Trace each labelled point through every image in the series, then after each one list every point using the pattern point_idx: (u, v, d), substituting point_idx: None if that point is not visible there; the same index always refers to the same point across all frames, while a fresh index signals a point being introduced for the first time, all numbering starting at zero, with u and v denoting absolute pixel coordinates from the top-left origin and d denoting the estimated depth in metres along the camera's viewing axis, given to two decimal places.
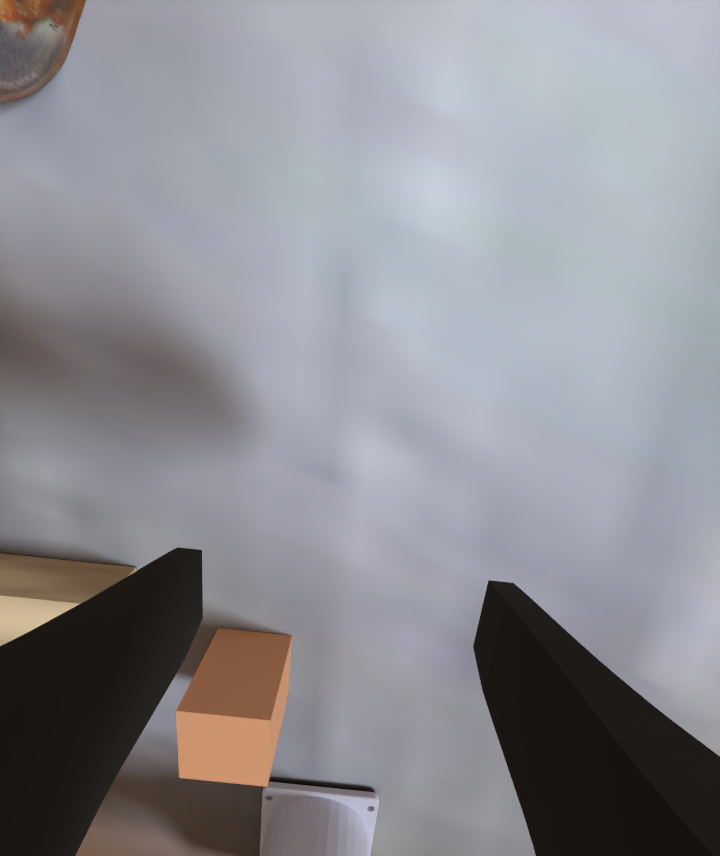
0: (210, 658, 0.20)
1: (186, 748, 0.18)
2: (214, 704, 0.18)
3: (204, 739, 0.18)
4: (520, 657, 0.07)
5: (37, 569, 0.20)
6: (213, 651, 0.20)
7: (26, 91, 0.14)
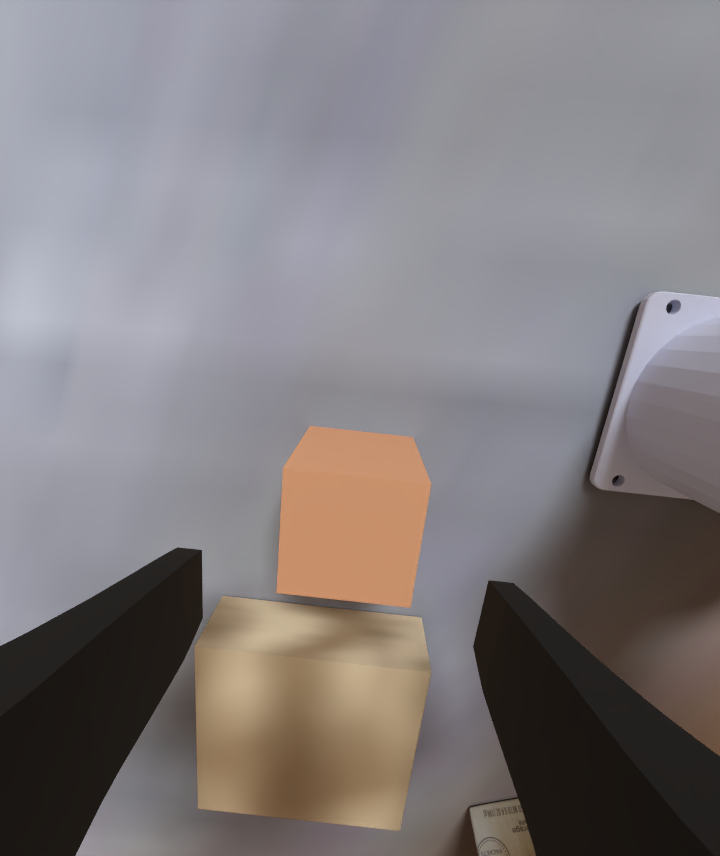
0: None
1: (349, 590, 0.12)
2: None
3: (328, 563, 0.12)
4: (521, 658, 0.07)
5: None
6: None
7: None
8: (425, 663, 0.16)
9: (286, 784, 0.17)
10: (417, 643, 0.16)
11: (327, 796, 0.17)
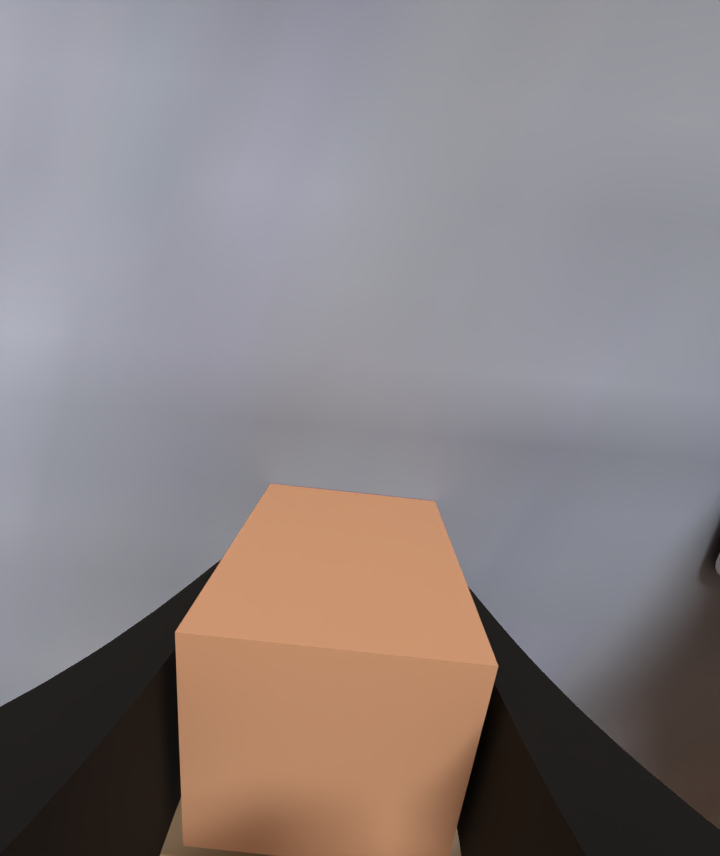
0: None
1: (324, 844, 0.06)
2: None
3: (281, 801, 0.06)
4: None
5: None
6: None
7: None
8: None
9: None
10: None
11: None
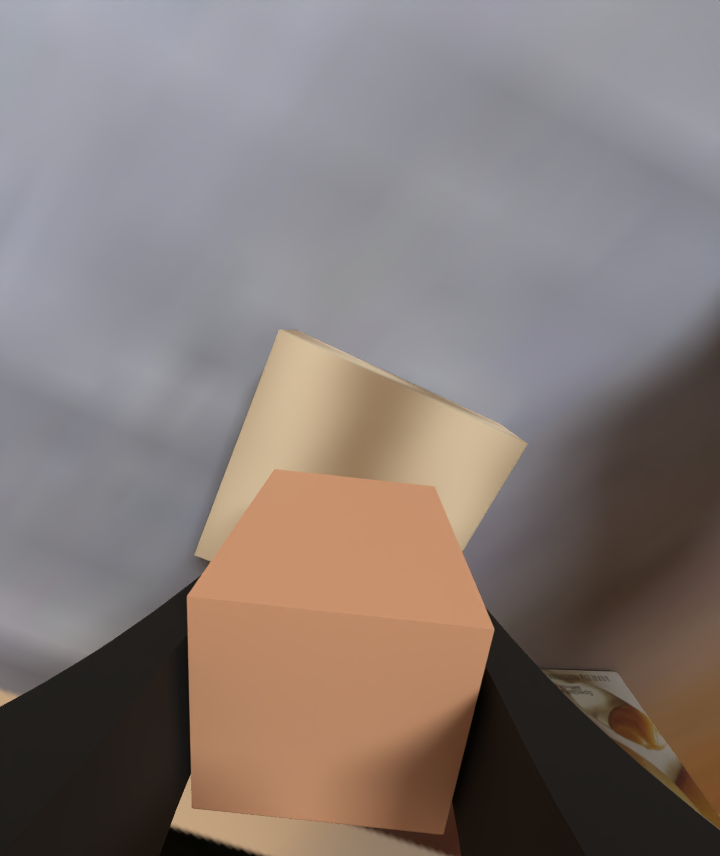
0: None
1: (327, 807, 0.06)
2: None
3: (286, 763, 0.06)
4: None
5: None
6: None
7: None
8: (519, 439, 0.14)
9: None
10: (504, 429, 0.15)
11: None
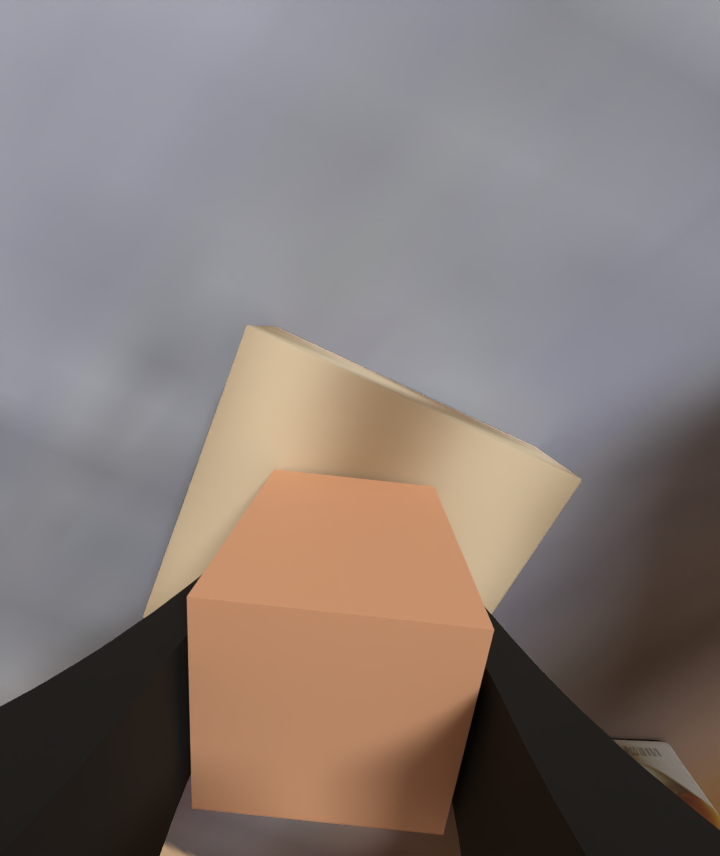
0: None
1: (328, 807, 0.06)
2: None
3: (286, 763, 0.06)
4: None
5: None
6: None
7: None
8: (568, 472, 0.10)
9: None
10: (545, 456, 0.11)
11: None
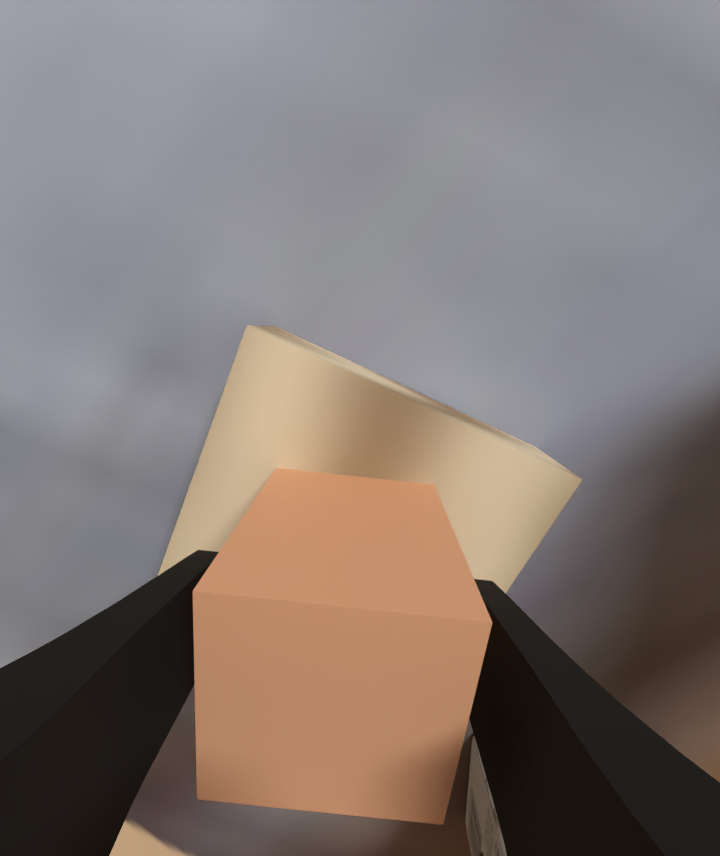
0: None
1: (330, 797, 0.06)
2: None
3: (289, 755, 0.06)
4: (495, 655, 0.07)
5: None
6: None
7: None
8: (568, 472, 0.10)
9: None
10: (545, 456, 0.11)
11: None
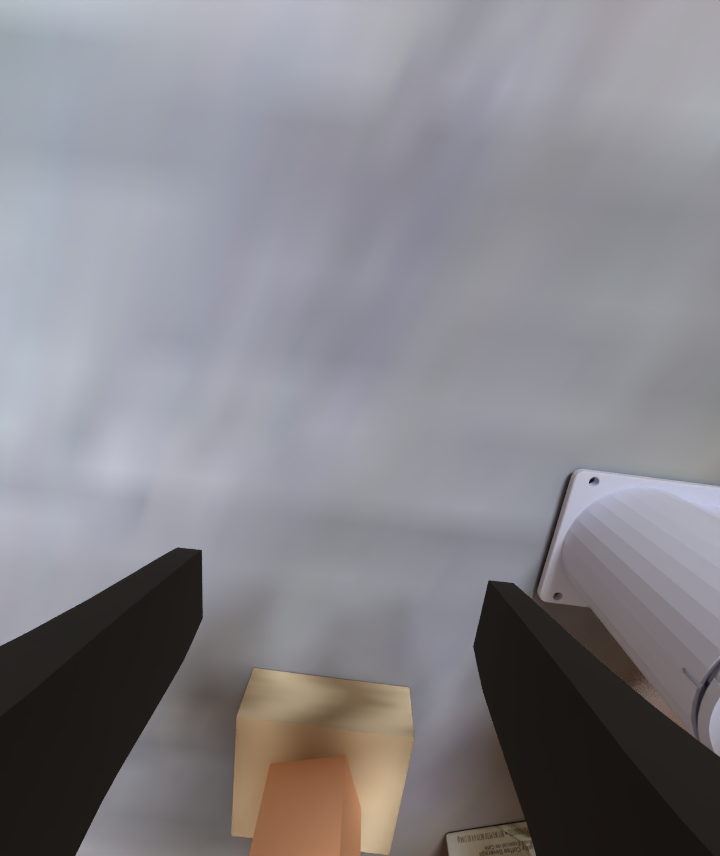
0: None
1: None
2: None
3: None
4: (521, 658, 0.07)
5: None
6: None
7: None
8: (410, 730, 0.20)
9: None
10: (404, 712, 0.21)
11: None
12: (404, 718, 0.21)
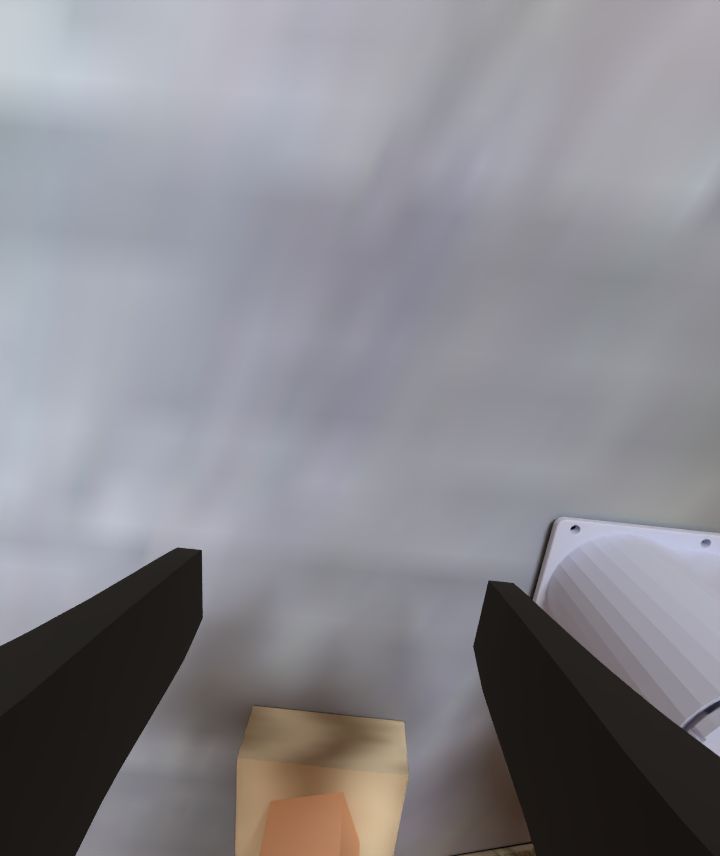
0: None
1: None
2: None
3: None
4: (520, 657, 0.07)
5: None
6: None
7: None
8: (405, 767, 0.21)
9: None
10: (399, 748, 0.22)
11: None
12: (399, 754, 0.22)
